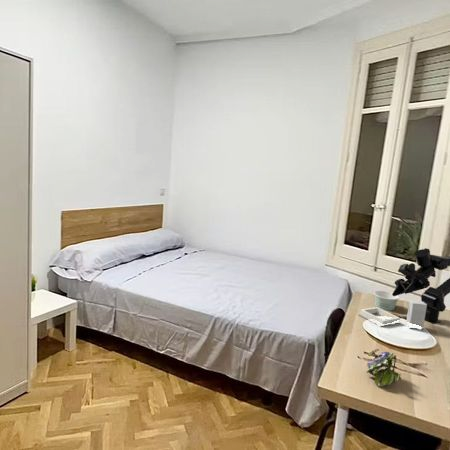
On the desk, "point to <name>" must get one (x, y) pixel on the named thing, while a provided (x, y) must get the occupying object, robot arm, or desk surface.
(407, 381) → the desk surface
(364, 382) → the desk surface
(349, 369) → the desk surface
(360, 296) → the desk surface
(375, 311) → the white shallow square tray
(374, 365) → the passion flower
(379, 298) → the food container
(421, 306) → the skincare box
